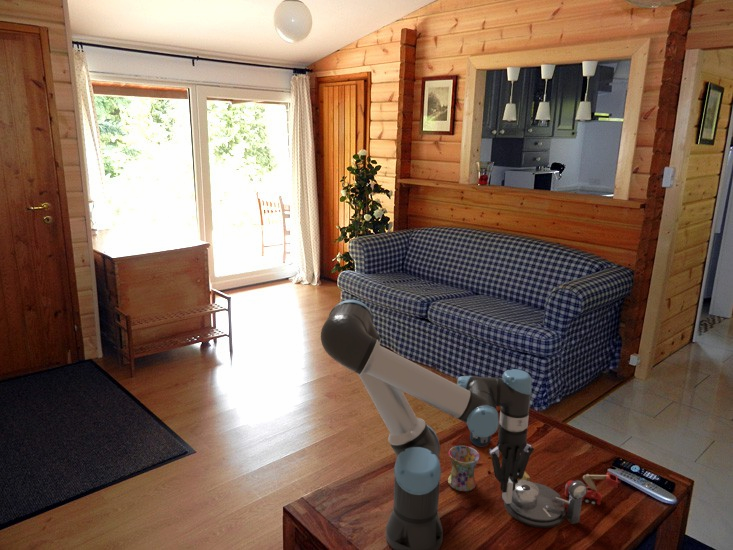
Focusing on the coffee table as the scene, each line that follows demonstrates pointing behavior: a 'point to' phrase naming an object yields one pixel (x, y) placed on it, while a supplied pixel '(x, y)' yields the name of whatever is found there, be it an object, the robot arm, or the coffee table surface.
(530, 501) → the cover
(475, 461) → the mug
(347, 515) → the coffee table surface
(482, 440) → the soda can
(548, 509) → the turntable
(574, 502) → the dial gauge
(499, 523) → the coffee table surface
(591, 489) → the toy fire truck
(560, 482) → the coffee table surface
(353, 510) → the coffee table surface
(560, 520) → the base
